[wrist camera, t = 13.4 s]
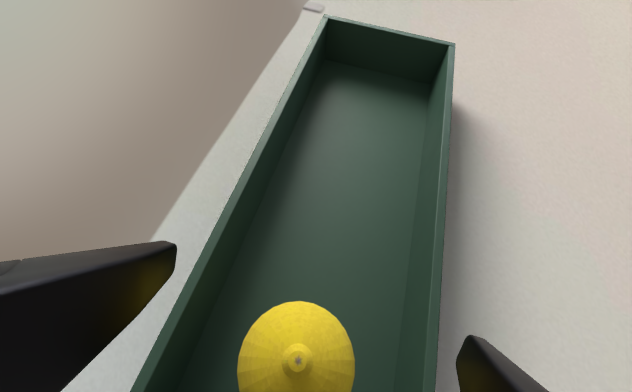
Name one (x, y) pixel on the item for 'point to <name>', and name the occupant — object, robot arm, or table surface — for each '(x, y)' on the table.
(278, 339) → the lemon
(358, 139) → the green rectangular tray
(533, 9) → the table surface
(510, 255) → the table surface
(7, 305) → the robot arm
